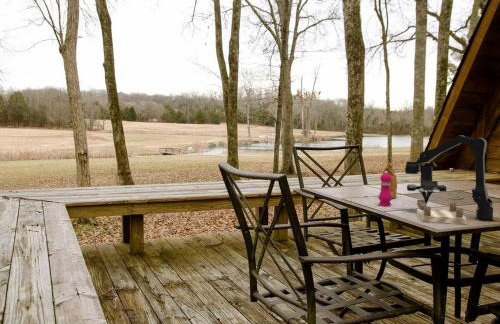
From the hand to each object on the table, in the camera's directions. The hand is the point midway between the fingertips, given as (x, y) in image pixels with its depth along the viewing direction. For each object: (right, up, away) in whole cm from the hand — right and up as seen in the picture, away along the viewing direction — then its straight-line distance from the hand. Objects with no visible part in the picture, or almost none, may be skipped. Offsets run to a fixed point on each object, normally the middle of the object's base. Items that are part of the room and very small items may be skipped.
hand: (426, 204), depth 221 cm
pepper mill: (-16, -3, +19) cm, 25 cm away
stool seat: (0, -6, -16) cm, 17 cm away
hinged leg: (-4, -1, -3) cm, 5 cm away
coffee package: (-5, -1, +46) cm, 46 cm away
